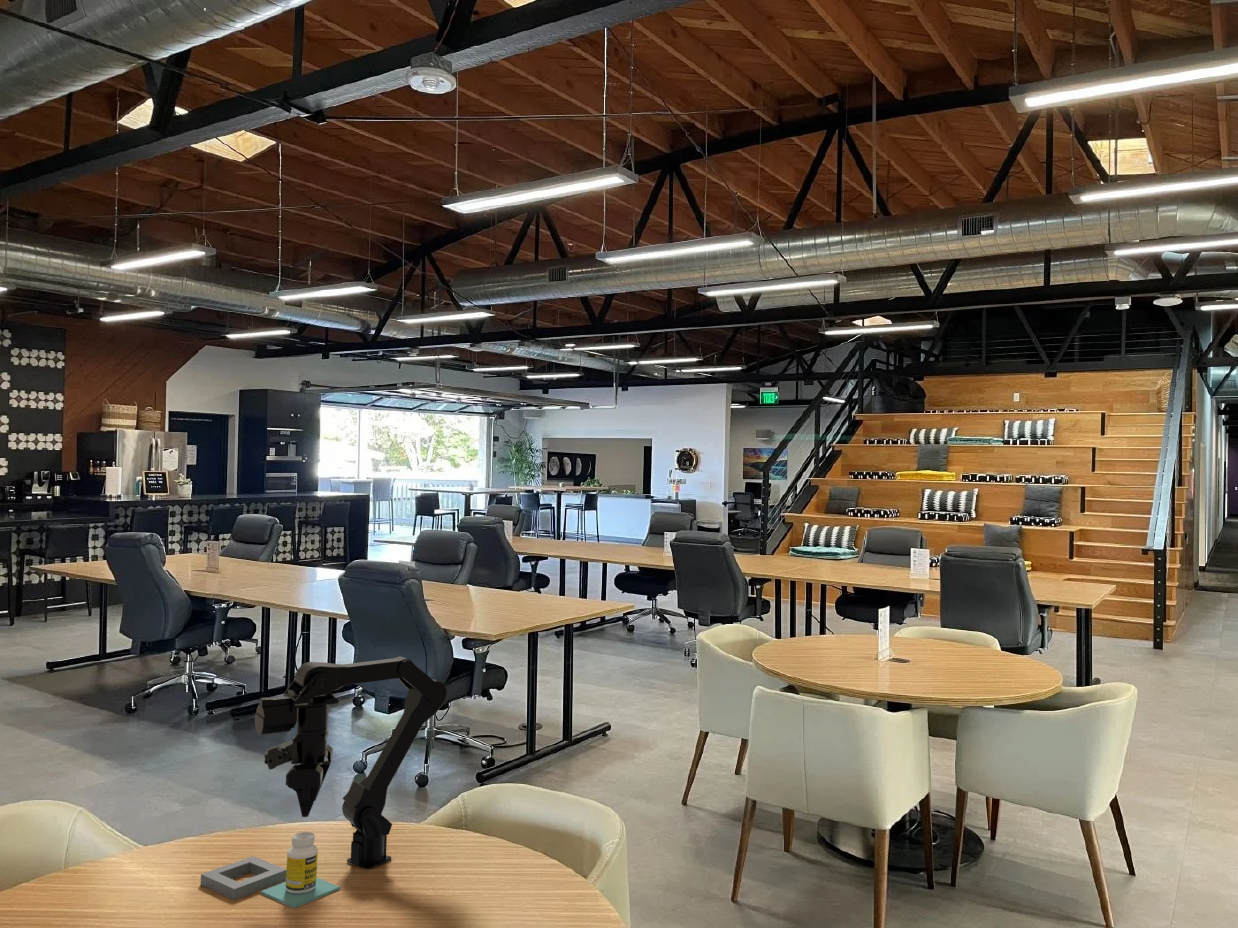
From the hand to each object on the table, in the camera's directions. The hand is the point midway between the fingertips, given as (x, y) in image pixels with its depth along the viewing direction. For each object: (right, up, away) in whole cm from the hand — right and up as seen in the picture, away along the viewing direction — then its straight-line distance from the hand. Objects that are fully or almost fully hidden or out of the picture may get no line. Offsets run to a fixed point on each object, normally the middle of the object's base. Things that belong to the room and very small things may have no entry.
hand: (309, 808), depth 175 cm
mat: (+1, -13, -8) cm, 15 cm away
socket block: (-11, -13, -4) cm, 17 cm away
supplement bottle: (+1, -12, -7) cm, 15 cm away
